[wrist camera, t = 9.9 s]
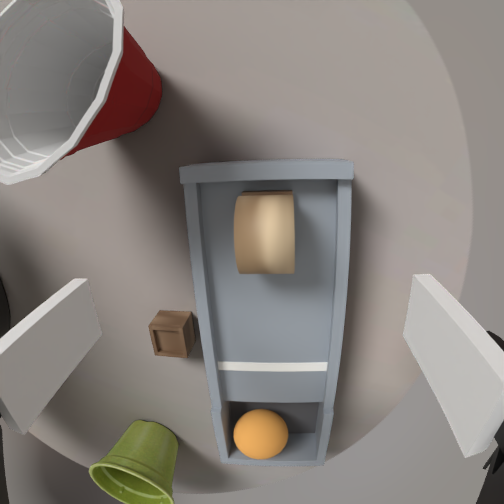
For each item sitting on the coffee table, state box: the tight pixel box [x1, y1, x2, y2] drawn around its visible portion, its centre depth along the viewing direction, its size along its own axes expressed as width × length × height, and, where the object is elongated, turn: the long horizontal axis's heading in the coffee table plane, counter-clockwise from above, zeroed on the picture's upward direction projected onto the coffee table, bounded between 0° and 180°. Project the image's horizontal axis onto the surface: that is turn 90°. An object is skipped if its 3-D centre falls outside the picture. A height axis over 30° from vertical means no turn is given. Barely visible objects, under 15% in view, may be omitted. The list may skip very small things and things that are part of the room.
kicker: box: [234, 190, 295, 274], centre depth 18 cm, size 3×4×4 cm
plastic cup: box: [0, 0, 162, 185], centre depth 15 cm, size 11×11×12 cm
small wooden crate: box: [148, 310, 196, 358], centre depth 25 cm, size 3×3×3 cm
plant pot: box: [89, 420, 179, 504], centre depth 28 cm, size 9×9×9 cm
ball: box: [234, 409, 288, 459], centre depth 26 cm, size 5×5×5 cm
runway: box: [179, 159, 354, 466], centre depth 24 cm, size 10×27×4 cm, turn 3°
